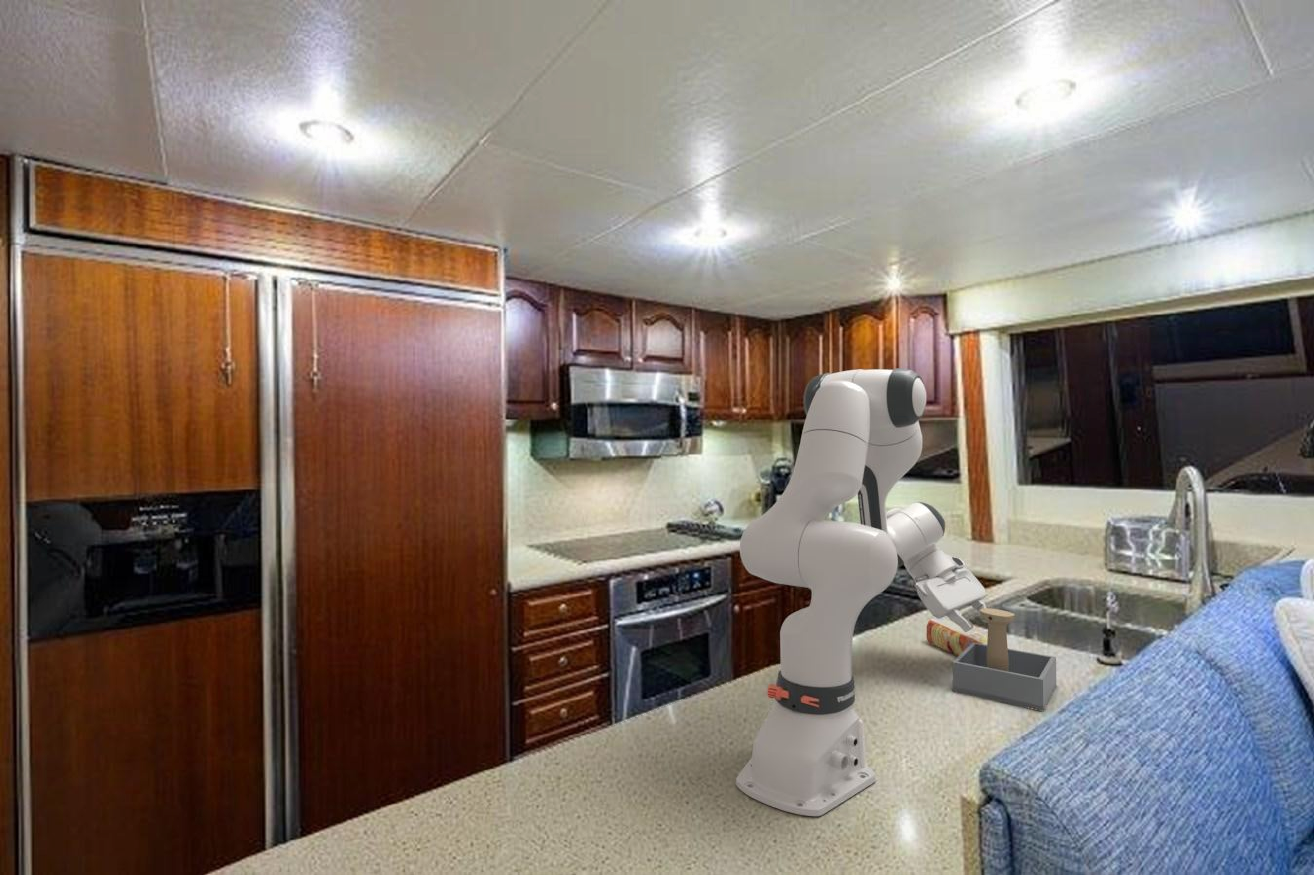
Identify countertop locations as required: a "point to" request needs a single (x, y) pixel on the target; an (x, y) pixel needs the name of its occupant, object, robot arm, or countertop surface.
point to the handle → (997, 637)
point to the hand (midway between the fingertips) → (979, 625)
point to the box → (1006, 677)
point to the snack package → (951, 636)
